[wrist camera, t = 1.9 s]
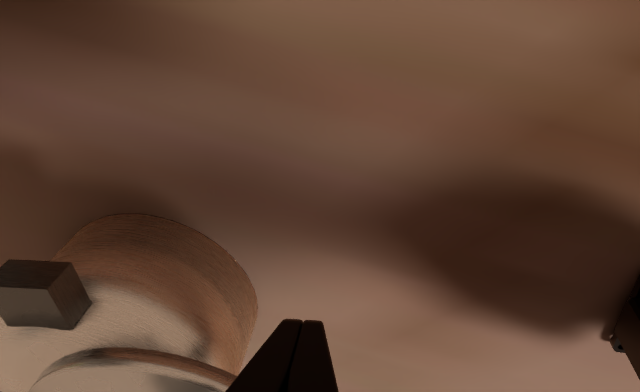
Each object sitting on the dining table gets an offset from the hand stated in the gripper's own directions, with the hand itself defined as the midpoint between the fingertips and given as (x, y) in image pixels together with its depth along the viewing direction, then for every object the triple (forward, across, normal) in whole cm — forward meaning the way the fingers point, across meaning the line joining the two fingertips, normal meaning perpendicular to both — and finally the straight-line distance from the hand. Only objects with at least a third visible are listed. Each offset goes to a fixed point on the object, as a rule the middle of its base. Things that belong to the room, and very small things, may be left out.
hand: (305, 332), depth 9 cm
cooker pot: (+13, +13, +13) cm, 23 cm away
